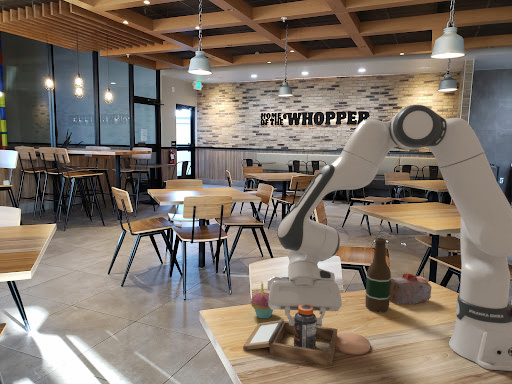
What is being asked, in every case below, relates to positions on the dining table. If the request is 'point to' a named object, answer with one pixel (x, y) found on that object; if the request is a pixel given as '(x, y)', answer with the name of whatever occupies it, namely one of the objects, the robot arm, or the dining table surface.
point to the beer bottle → (378, 280)
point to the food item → (409, 289)
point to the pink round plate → (352, 343)
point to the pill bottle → (305, 327)
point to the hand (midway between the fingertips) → (305, 325)
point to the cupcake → (261, 304)
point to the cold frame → (302, 352)
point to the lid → (260, 335)
